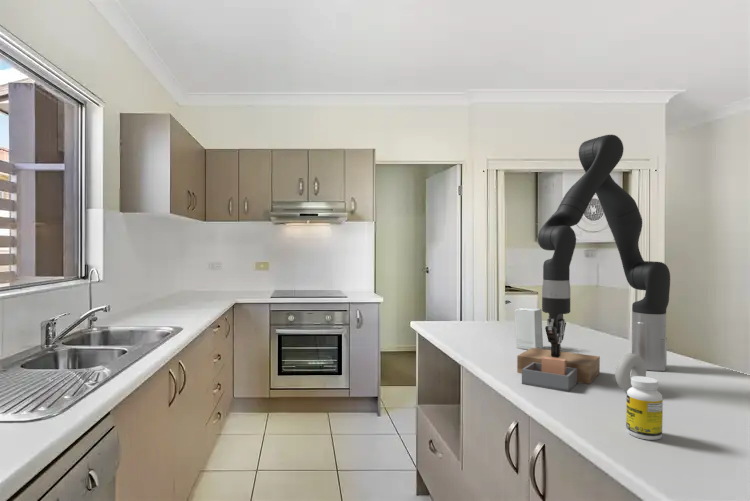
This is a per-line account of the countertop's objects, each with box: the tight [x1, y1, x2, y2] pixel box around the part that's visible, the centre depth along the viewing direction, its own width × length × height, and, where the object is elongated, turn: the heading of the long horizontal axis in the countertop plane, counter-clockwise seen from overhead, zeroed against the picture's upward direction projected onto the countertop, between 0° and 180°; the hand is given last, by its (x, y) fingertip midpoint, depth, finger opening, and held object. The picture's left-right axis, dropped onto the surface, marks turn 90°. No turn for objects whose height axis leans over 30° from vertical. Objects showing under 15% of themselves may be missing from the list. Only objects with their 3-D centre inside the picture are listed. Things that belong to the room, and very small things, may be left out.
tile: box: [542, 356, 566, 376], centre depth 128 cm, size 6×6×2 cm
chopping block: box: [516, 348, 601, 385], centre depth 138 cm, size 20×14×5 cm
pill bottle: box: [625, 376, 664, 441], centre depth 92 cm, size 6×6×11 cm
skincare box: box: [514, 307, 544, 351], centre depth 172 cm, size 8×6×15 cm
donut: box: [614, 352, 647, 393], centre depth 120 cm, size 10×3×10 cm, turn 117°
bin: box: [521, 362, 578, 393], centre depth 127 cm, size 12×10×4 cm
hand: (555, 356), depth 132 cm, fingers closed
